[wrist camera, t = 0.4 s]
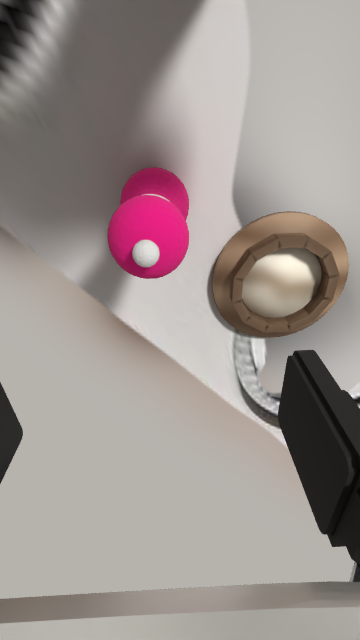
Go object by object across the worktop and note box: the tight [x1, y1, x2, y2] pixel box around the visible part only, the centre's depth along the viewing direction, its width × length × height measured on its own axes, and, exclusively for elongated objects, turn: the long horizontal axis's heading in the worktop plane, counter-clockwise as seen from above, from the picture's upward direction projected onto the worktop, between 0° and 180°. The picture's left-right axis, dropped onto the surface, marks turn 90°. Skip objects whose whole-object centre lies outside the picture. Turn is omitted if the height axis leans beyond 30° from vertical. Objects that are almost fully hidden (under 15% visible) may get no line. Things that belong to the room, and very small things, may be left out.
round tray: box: [212, 212, 349, 337], centre depth 41 cm, size 18×18×3 cm
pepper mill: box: [108, 168, 189, 279], centre depth 28 cm, size 7×7×20 cm
